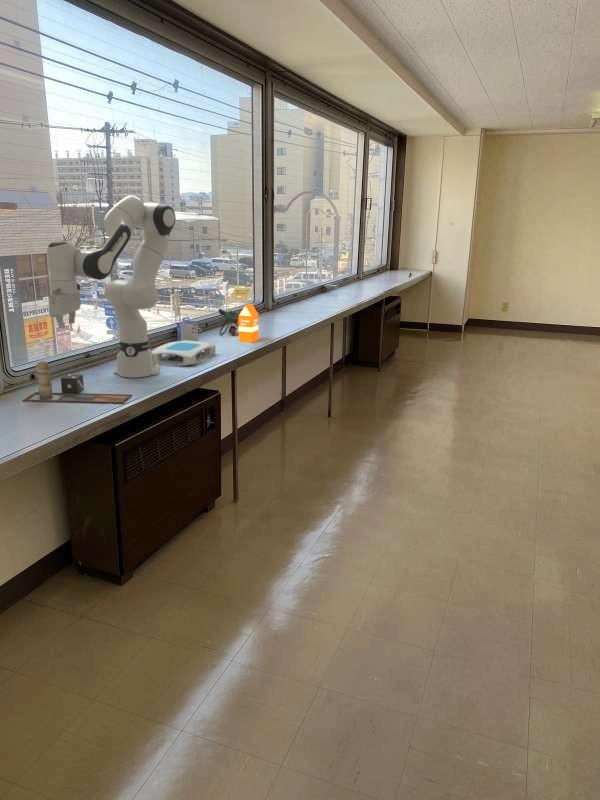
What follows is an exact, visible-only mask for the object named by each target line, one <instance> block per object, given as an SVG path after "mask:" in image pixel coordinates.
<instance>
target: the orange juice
mask: <svg viewBox="0 0 600 800" xmlns="http://www.w3.org/2000/svg"><path fill="white" fill-rule="evenodd" d="M238 318H239V326H238V342H239V341H240V342H239V343H243V342H250V343H249V344H253V343H252V342H254V341H256V340H258V341H259V313H258V311H257V310H256V308H255V306H254V305H253V303H249V304H246V305H244V307H243V308H242V310H241V311H240V313H239V315H238ZM256 342H257V341H256ZM254 343H255V342H254Z"/></svg>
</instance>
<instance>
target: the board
mask: <svg viewBox="0 0 600 800" xmlns="http://www.w3.org/2000/svg"><path fill="white" fill-rule="evenodd" d="M35 394H36V395H39V391H35V392H33V393H32V394H29V396H27V397H25V398H23V399H22V402H28V401H33V402H36V403H38V402H39V403H40V402H41V403H69V404H70V403H73V404H76V403H77V404H106V403H112V405H124V404H125V403H126V402H127V401H128V400H129V399H130V398H131V397H132V396H133V395H132V394H124V393H123V394H120V393H119V394H118V393H114V394H113V393H86V392H85V393H84V392H83V393H81V392H80V393H62V392H52V394H53V395H54V394H55V396H56V395H57V396H59V395H60V397H59V398H57V399H46V400H43V399H31V398H33V397H35V396H36V395H35ZM32 396H33V397H32ZM29 398H30V399H29ZM33 402H32V403H33Z"/></svg>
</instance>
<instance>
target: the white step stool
mask: <svg viewBox="0 0 600 800" xmlns="http://www.w3.org/2000/svg"><path fill="white" fill-rule="evenodd" d="M151 352H152V353H153V354H154V361H155V364H167V365H166V366H170V365H179V366H178V367H187V365H188V366H193V365H194V364H195V365H198V364H197V363H199V362H201V361H203V360H205V359H207V358H209V357H210V358H212V356H213V355H214V354H215V353H216V345H215V344H212V343H211V342H207V341H199V340H198V341H187V340H185V341H178V340H177V341H173V342H167V343H165V344H162V345H160V346H157V347H156V348H155V349H153V350H152V351H151ZM176 355H177V356H178V357H182V361H181V360H170V359H172V358H174V357H173V356H175V357H176ZM196 355H201V356H196ZM171 357H172V358H171ZM169 358H170V359H169ZM210 358H209V359H210ZM167 359H168V360H167ZM207 360H208V359H207ZM205 361H206V360H205ZM203 362H204V361H203ZM201 363H202V362H201ZM199 364H200V363H199Z"/></svg>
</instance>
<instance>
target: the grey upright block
mask: <svg viewBox="0 0 600 800" xmlns="http://www.w3.org/2000/svg"><path fill="white" fill-rule="evenodd" d="M182 320H183V321H182V322H177V323H176V329H177V330H176V331H177V342H178V341H185V340H187V341H199V325H198V324H199V323H198V322H197V321H194V320H191V319H190V317H188V316H187V317H186V316H185V317H182Z"/></svg>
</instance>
